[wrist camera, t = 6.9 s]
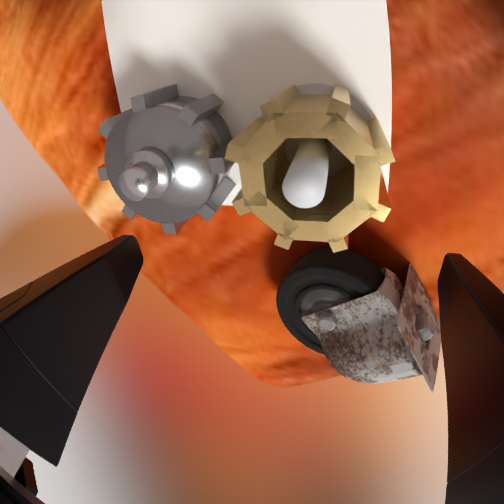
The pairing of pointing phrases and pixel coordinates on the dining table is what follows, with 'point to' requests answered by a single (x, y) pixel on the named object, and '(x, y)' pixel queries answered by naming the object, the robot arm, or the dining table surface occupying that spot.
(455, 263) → the robot arm
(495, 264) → the dining table surface
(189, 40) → the gear board
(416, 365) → the caster wheel
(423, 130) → the dining table surface
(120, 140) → the gear
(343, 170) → the brass gear
